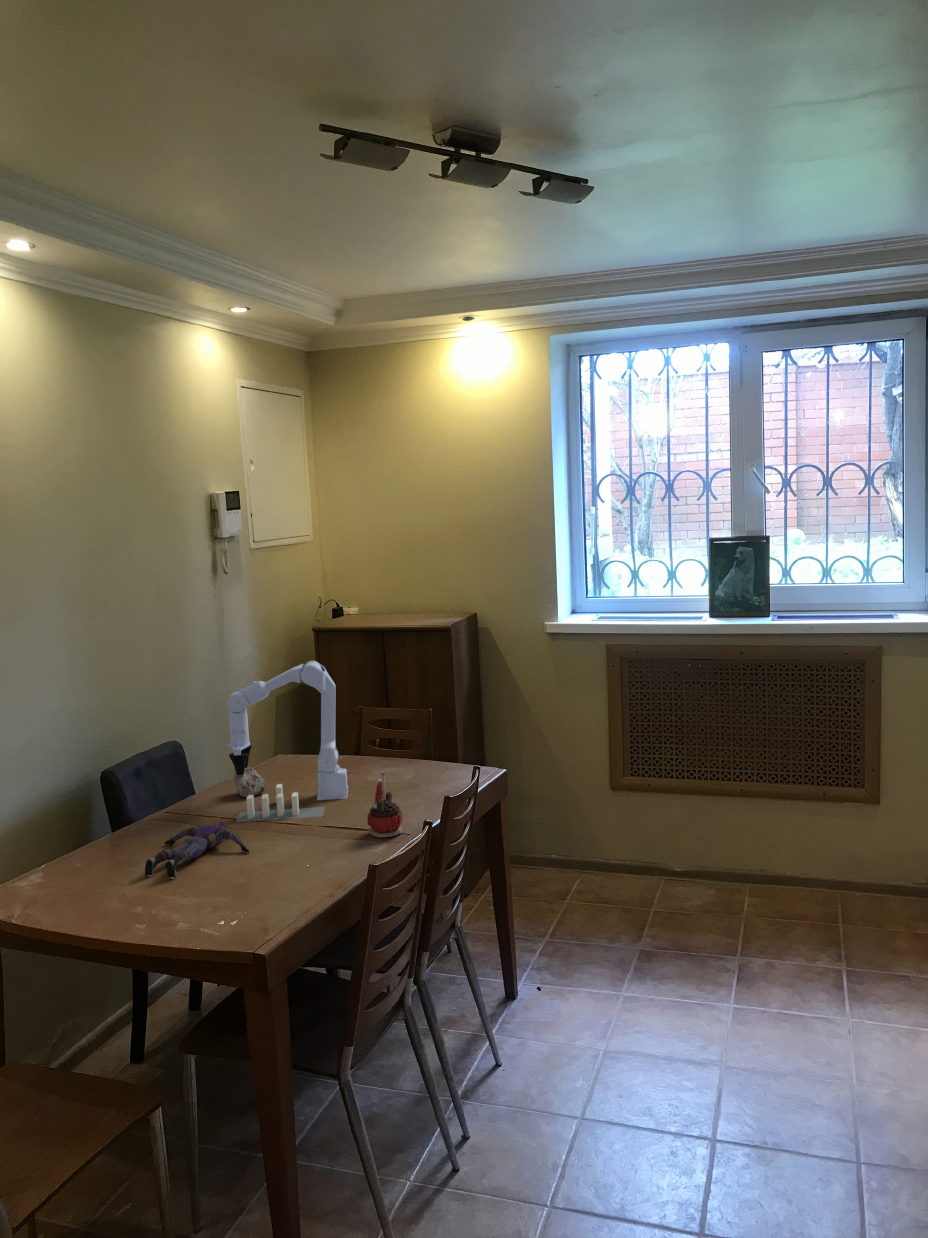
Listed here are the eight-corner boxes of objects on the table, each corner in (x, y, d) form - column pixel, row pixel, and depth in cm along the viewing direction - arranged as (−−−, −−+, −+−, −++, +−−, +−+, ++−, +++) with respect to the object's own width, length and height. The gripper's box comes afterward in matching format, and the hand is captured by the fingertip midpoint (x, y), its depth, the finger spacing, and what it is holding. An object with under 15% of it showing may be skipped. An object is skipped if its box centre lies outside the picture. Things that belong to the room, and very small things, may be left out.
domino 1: (254, 813, 295) (253, 795, 294) (253, 818, 291) (251, 799, 290) (249, 814, 295) (248, 795, 294) (247, 818, 291) (246, 799, 290)
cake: (396, 840, 268) (393, 778, 266) (364, 839, 270) (361, 777, 268) (406, 827, 278) (403, 767, 276) (375, 826, 280) (372, 766, 278)
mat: (324, 808, 299) (324, 807, 299) (323, 817, 290) (322, 816, 290) (240, 813, 297) (240, 812, 297) (235, 822, 288) (235, 822, 288)
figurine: (206, 887, 243) (267, 842, 271) (203, 864, 242) (265, 821, 270) (116, 877, 252) (184, 834, 280) (114, 855, 251) (182, 814, 279)
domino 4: (284, 812, 296) (283, 793, 295) (283, 816, 292) (281, 797, 291) (279, 812, 296) (277, 793, 295) (277, 816, 292) (276, 797, 291)
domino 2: (269, 813, 295) (268, 794, 295) (268, 817, 291) (266, 798, 291) (264, 813, 295) (263, 794, 294) (262, 817, 291) (261, 798, 290)
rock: (245, 809, 309) (264, 785, 309) (218, 786, 311) (237, 762, 310) (255, 803, 319) (273, 780, 318) (229, 781, 320) (247, 758, 319)
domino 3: (283, 802, 306) (282, 784, 306) (282, 806, 302) (280, 787, 302) (278, 802, 306) (277, 784, 306) (276, 806, 302) (275, 788, 302)
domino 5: (299, 811, 296) (298, 792, 295) (298, 815, 292) (296, 796, 291) (293, 811, 296) (292, 792, 295) (292, 815, 292) (291, 796, 291)
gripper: (230, 725, 312) (233, 766, 314) (222, 736, 298) (225, 778, 300) (252, 724, 313) (255, 764, 314) (245, 735, 298) (248, 777, 300)
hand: (242, 771), depth 307 cm, fingers open, 7 cm apart
